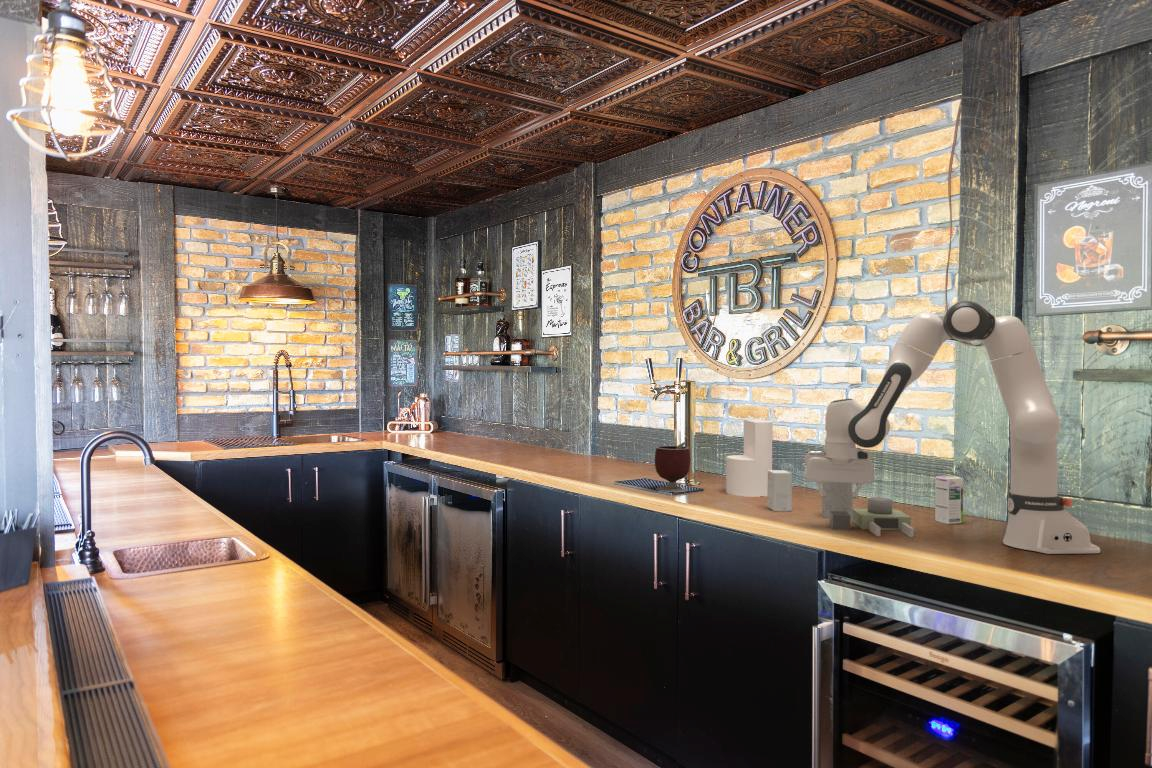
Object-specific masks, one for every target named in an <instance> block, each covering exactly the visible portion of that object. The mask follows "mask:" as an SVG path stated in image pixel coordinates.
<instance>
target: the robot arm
mask: <svg viewBox="0 0 1152 768" xmlns="http://www.w3.org/2000/svg"><path fill="white" fill-rule="evenodd" d="M946 341H954V342H960V343H969V342H973V341H979V342H980V343H982V344H983V346H984V347H985V349H986V352H987V356H988V359H989V361H990V365H991V368H992V371H993V375H994V377H995V380H996V382H997V387H998V389H999V393H1000V395H1001V399H1002V401H1003V403H1004V404H1003V405H1004V406H1005V410H1006V414H1007V416H1008V419H1009V422H1010V425H1009V426H1010V429H1009V431H1010V436H1009V437H1010V444H1009V445H1010V446H1009V447H1010V477H1009V478H1010V483H1009V484H1010V485H1009V486H1010V488H1009V492H1008V495H1007V512H1008V519H1007V525H1006V530H1005V533H1004V536H1003V540H1002V544H1004V545H1006V546H1009V547H1011V548H1016V549H1020V550H1026V551H1031V552H1032V551H1033V552H1038V553H1043V554H1047V555H1048V554H1049V555H1052V554H1053V555H1058V554H1059V555H1061V554H1062V555H1065V554H1067V555H1068V554H1070V555H1071V554H1100V553H1101V551H1102V550H1101V548H1100V547H1099V546H1098V545H1096V544H1095V543H1094V544H1093V543H1092V542H1091V536H1090V532H1089V529H1088V527H1087V526H1086V525H1085V524H1084V523H1082V522H1081V521H1079V520H1078V519H1077V518H1076V517H1074V516H1073V515H1071V514H1070V513H1069V512H1068V511H1066V510H1065V507H1067V508H1070V507H1072V506H1073V505H1074V503H1073V500H1072V499H1069V498H1066V497H1064V498H1063V497H1061V496H1060V495H1058V487H1059V486H1058V482H1059V481H1058V479H1059V477H1058V475H1059V473H1058V472H1059V471H1058V470H1059V465H1058V444H1057V443H1058V441H1057V439H1058V438H1057V437H1058V435H1059V434H1060V431H1061V420H1060V417H1059V414H1058V412H1057V407H1056V405H1055V403H1054V400H1053V397H1052V395H1051V392H1050V389H1049V387H1048V385H1047V384H1048V383H1047V381H1046V378H1045V377H1044V374H1043V370H1042V368H1041V364H1040V361H1039V358H1038V355H1037V353H1036V349H1035V346H1034V344H1033V341H1032V338H1031V336H1030V334H1029V332H1028V330H1027V328H1026V327H1025V325H1024V323H1023V322H1022V320H1021V319H1020V318H1019V317H1017V316H1013V315H1002V316H997V317H996V316H995V315H993V314H992V313H990V311H988V310H987V309H986V308H985V307H984V306H982V305H981V304H979V303H977V302H974V301H971V300H963V301H962V300H961V301H959V302H955V304H953V305H951V306H950V307H949V308H948V309H947V311H946V313H944V314H941V315H940V314H936V313H934V312H931V311H930V312H928V311H922V312H919V313H916V314H915V315H914V316H913V318H912V319H911V320H910V321H909V322H908V324H907V325H906V326H905V327H904V329H903V330H902V332H901V333H900V335H899V337H898V339H897V340H896V342H895V343H894V346H893V348H892V351H891V352H890V355H889V359H888V360H887V365H886V368H885V371H884V374H883V377H882V379H881V381H880V383H879V385H878V387H877V388H876V390H875V391H874V394H873V395H872V397H871V399H870V400H869V402H868V404H867V405H866V406H864V405H862V404H861V403H858V402H857V401H856V400H855V399H852V398H843V399H837V400H836V399H835V400H832V401H831V402H830V403H829V404H828V405H827V408H826V412H825V423H824V424H825V431H826V433H825V434H826V435H825V439H824V451H821V450H817V451H816V450H815V451H814V450H811V451H808V452H807V453H805V454H804V457H803V458H804V461H803V463H804V464H805V466H804V474H803V476H804V479H805V480H806V481H807V482H810V483H811V482H813V483H814V482H815V485H816V487H817V489H818V491H819V497H821V498H822V497H825V496H826V495H825V494H826V491H825V490H822V487H821V486H822V482H834V483H853V484H855V486H856V488H855V489H854V490H853V491H852V495H851V496H852V499H858V498H859V492H860V491H861V489H862V488H863V485H872V484H873V483H874V482H875V480H876V479H875V478H876V475H875V474H876V473H875V465H874V462H872V461H871V460H872V458H873V457H872V453H871V452H869V451H867V450H864V449H865V448H867V449H868V448H869V449H871V448H874V447H876V446H878V445H880V444H881V443H882V442H883V440H884V439H885V438H887V436H888V434H889V433H890V429H891V427H890V421H889V419H888V418H889V416H890V414H891V412H892V410H893V409H894V407H895V405H896V404H897V401H898V400H899V398H900V397H901V395H902V393H903V392H904V391H905V390H906V389H907V388H908V387H909V386H910V385H911V384H913V383H914V382H915V381H916V380H918V379H919V378H920V377H921V376H922V375H923V374H924V373H925V371H926V370H927V369H928V368H929V366H930V365H931V364H932V362H933V360H934V359H935V356H936V355H937V353H938V351H939V350H940V348H941V347H942V345H943V344H944V343H945V342H946ZM856 446H858V447H856ZM862 448H864V449H862Z"/></svg>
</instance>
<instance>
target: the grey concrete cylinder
mask: <svg viewBox="0 0 1152 768" xmlns="http://www.w3.org/2000/svg"><path fill="white" fill-rule="evenodd" d="M853 485H854V483H834V482H822V487H821V488H822V490H825V491H826V494H825V495H826V496H825V497H821V498H822V500H821V516H822V517H823V518H826V519H830V511H847V512H848V514H849V515H850V519H852V509H853V498H852V496H851V495H852V492H854V490H853Z"/></svg>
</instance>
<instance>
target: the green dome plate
mask: <svg viewBox="0 0 1152 768" xmlns="http://www.w3.org/2000/svg"><path fill="white" fill-rule="evenodd" d="M851 520H852V522H853V523H854V524H855V525H856V526H857V527H859V528H860V529H861V530H868V531H869V532H870V533H872V534H873V535H874V536H876V537H881V534H882V533H881V531H900V532H901V533H903V534H904V535H905V536H908V537H909V538H914V536H915V527H913V526H912V525H911V522H912V518H911V516H909V515H908V514H906V513H904V512H902V510H899V509H893V499H891V498H887V497H877V496H875V497H874V496H873V497H868V498H867V508H852V518H851Z"/></svg>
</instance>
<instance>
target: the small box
mask: <svg viewBox="0 0 1152 768" xmlns="http://www.w3.org/2000/svg"><path fill="white" fill-rule="evenodd" d="M766 497H767V498H766V499H767V502H766V504H767V505H766V507H767V508H768V509H770V510H772V511H774V512H792V511H793V473H792V472H790V471H787V470H785V469H784V470H783V469H781V470H780V469H776V470H775V469H772V470H768V492H767V496H766Z"/></svg>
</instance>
